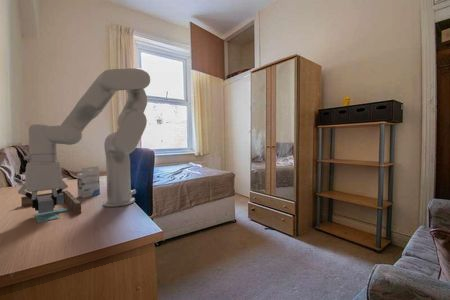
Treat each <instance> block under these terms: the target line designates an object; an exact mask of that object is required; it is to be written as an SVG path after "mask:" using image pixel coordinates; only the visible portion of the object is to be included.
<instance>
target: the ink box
mask: <svg viewBox="0 0 450 300" xmlns="http://www.w3.org/2000/svg"><path fill="white" fill-rule="evenodd" d="M99 169H100V168H99V166H98V165H97V166H87V167H82V168H81V172H80V173H76V182H77V198H82V199H84V198H85V199H86V198H89V197H93V196H97V195H101V191H100V189H101V187H100V171H99Z"/></svg>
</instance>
